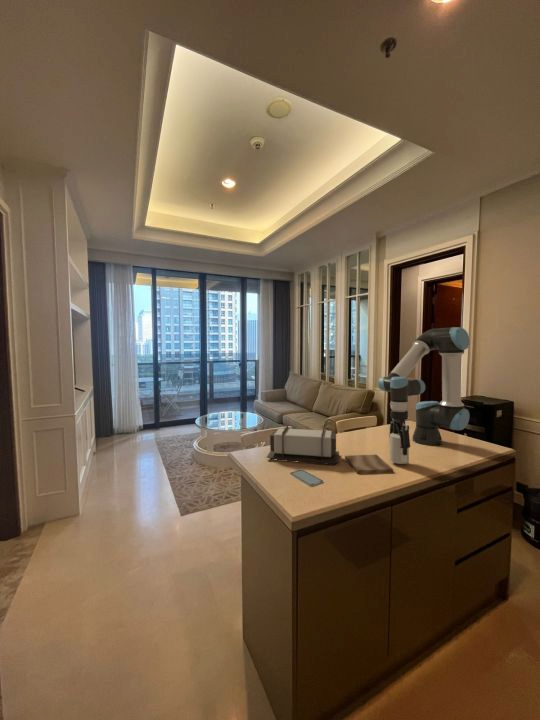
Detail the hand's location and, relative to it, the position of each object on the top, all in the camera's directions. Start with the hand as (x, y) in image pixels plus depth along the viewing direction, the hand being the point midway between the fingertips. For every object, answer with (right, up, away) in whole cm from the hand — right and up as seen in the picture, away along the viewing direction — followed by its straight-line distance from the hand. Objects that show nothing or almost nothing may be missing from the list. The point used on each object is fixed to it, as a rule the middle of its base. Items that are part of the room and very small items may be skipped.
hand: (399, 457), depth 143 cm
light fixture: (-44, -4, +10) cm, 45 cm away
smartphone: (-46, -5, -14) cm, 48 cm away
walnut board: (-15, -3, -1) cm, 16 cm away
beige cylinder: (0, -1, 0) cm, 1 cm away
